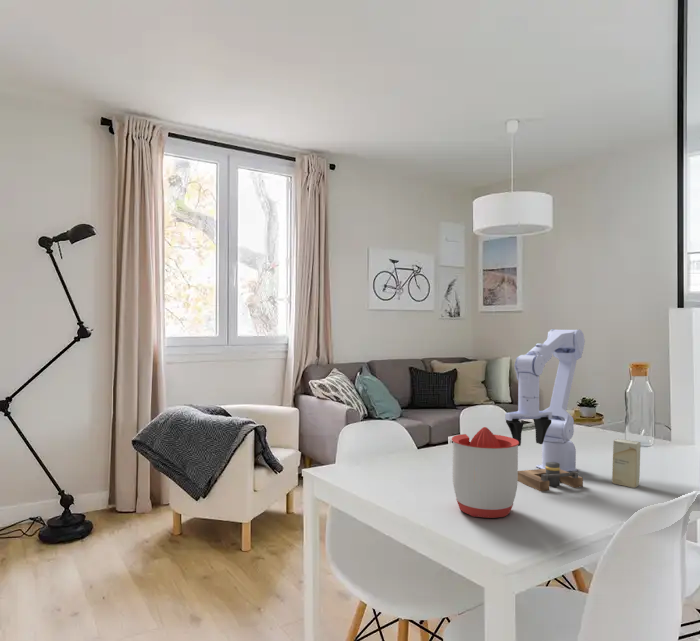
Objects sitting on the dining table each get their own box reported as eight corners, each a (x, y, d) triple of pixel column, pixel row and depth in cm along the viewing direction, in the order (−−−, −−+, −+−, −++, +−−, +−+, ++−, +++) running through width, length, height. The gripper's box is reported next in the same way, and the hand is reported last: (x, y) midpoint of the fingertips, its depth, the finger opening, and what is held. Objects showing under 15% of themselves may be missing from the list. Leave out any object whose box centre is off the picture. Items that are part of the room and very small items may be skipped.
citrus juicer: (504, 498, 141) (504, 420, 141) (528, 522, 123) (529, 433, 124) (443, 498, 140) (444, 419, 140) (459, 523, 123) (460, 433, 123)
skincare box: (611, 483, 154) (612, 440, 155) (616, 480, 158) (616, 438, 158) (636, 488, 150) (636, 443, 150) (640, 485, 154) (640, 441, 154)
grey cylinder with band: (557, 483, 155) (557, 461, 155) (561, 487, 151) (561, 465, 151) (543, 483, 155) (543, 461, 155) (547, 486, 151) (548, 464, 151)
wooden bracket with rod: (556, 476, 162) (556, 462, 162) (582, 486, 151) (582, 472, 151) (515, 479, 157) (515, 466, 157) (539, 491, 147) (540, 476, 147)
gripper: (540, 394, 164) (540, 439, 164) (498, 396, 159) (498, 443, 159) (556, 397, 157) (556, 444, 157) (513, 399, 152) (513, 448, 152)
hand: (528, 444), depth 158 cm, fingers open, 7 cm apart
